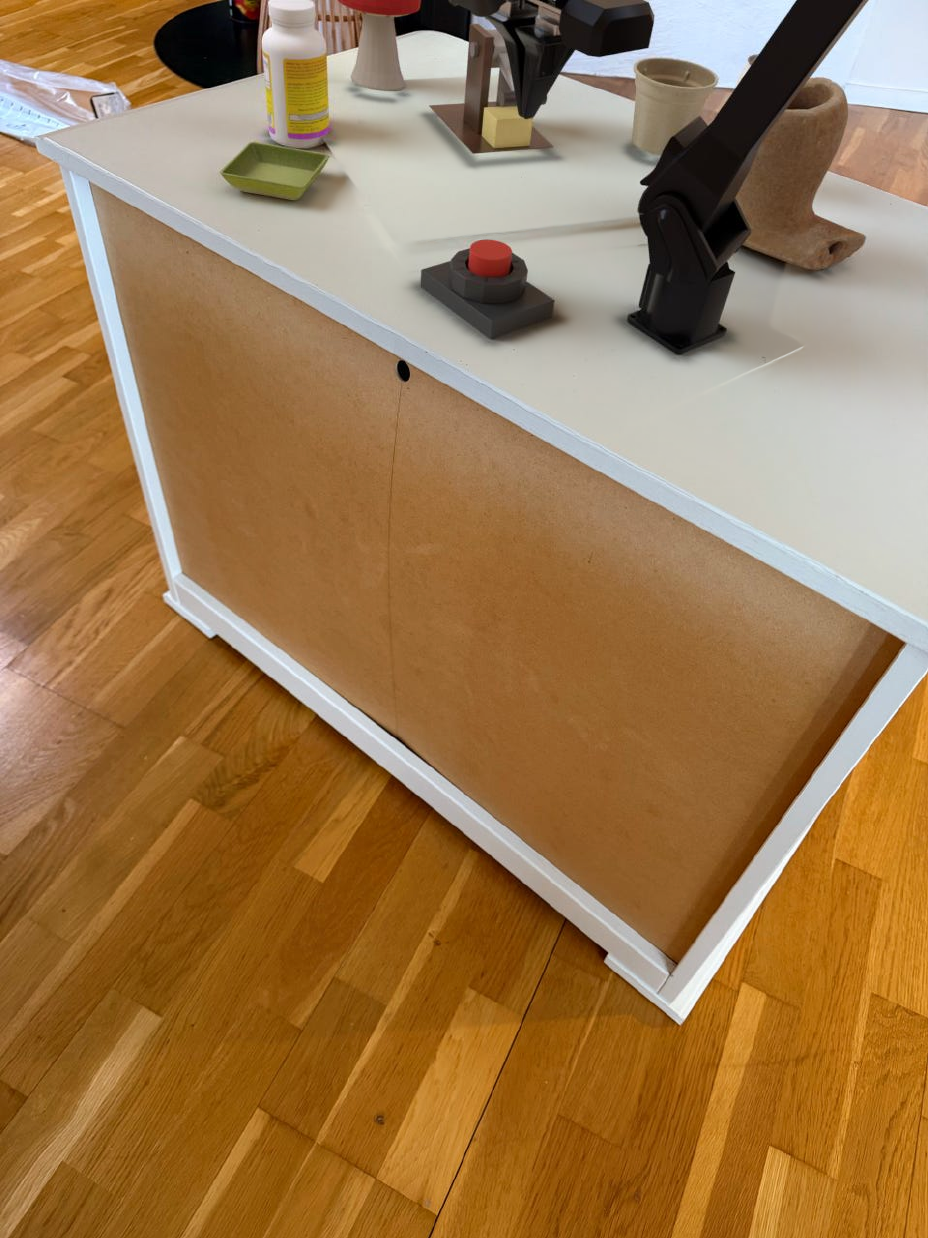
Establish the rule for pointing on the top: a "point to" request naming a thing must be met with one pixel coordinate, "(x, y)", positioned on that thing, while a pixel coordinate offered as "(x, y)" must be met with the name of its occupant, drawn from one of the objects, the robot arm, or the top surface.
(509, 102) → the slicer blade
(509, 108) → the butter
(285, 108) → the supplement bottle
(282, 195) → the olive green shallow tray
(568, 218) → the top surface
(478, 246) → the button
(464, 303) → the box
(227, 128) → the top surface
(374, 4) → the decorative mushroom
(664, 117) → the flower pot
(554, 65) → the robot arm
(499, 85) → the slicer
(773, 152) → the clay smoking pipe
